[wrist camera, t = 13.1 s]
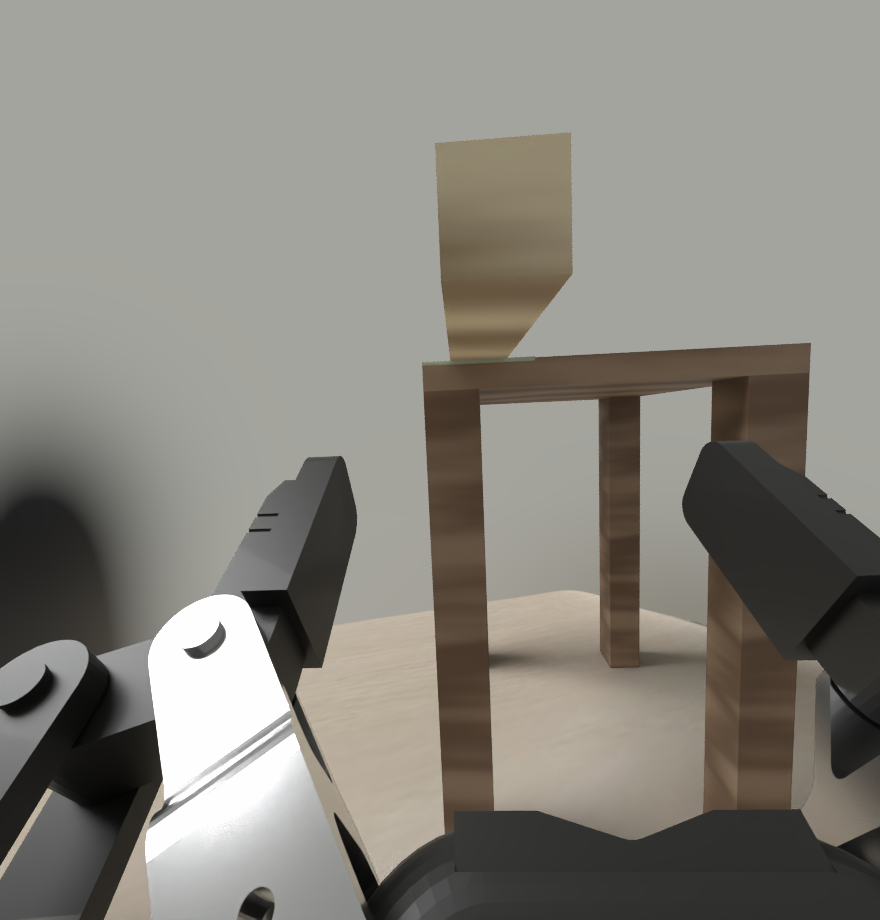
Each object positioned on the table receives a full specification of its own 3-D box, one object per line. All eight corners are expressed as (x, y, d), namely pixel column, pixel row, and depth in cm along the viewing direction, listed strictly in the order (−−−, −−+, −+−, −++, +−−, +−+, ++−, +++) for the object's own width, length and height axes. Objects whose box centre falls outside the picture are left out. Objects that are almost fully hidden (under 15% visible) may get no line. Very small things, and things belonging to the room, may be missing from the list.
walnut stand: (788, 867, 23) (810, 341, 20) (446, 864, 24) (422, 362, 21) (627, 650, 45) (627, 383, 42) (451, 653, 46) (440, 392, 43)
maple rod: (572, 273, 9) (570, 132, 9) (441, 281, 9) (435, 143, 9) (483, 388, 41) (481, 359, 41) (453, 390, 41) (452, 360, 41)
